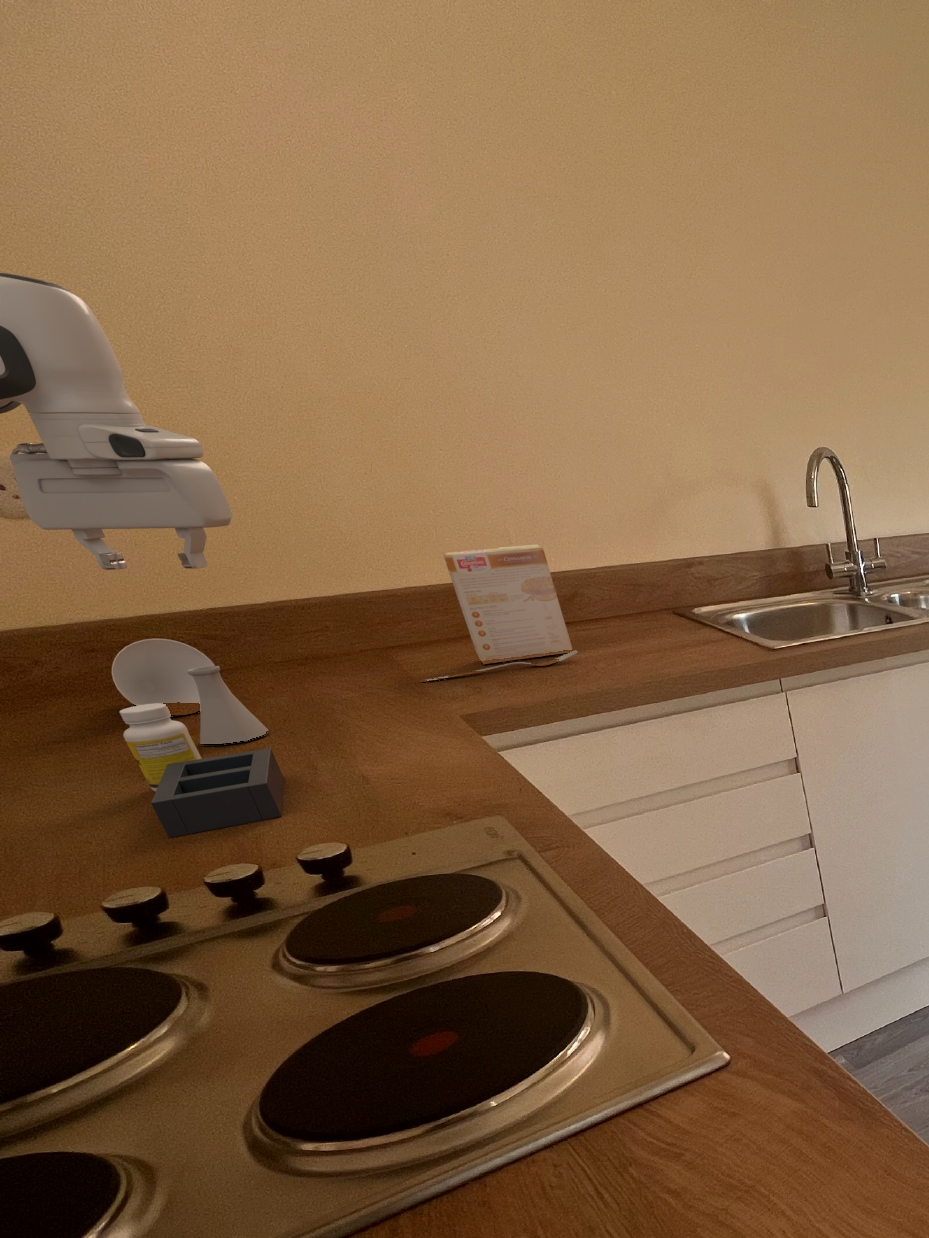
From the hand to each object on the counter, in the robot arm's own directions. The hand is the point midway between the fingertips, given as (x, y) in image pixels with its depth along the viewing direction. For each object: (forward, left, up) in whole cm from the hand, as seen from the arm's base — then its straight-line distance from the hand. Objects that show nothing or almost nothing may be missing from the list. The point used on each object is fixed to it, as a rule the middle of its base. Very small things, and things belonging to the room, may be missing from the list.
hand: (156, 568), depth 114 cm
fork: (+34, +36, -24) cm, 55 cm away
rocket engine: (-9, +44, -24) cm, 51 cm away
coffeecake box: (+39, +47, -24) cm, 66 cm away
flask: (-1, +13, -24) cm, 28 cm away
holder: (0, -22, -24) cm, 33 cm away
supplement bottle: (-5, -9, -24) cm, 26 cm away
